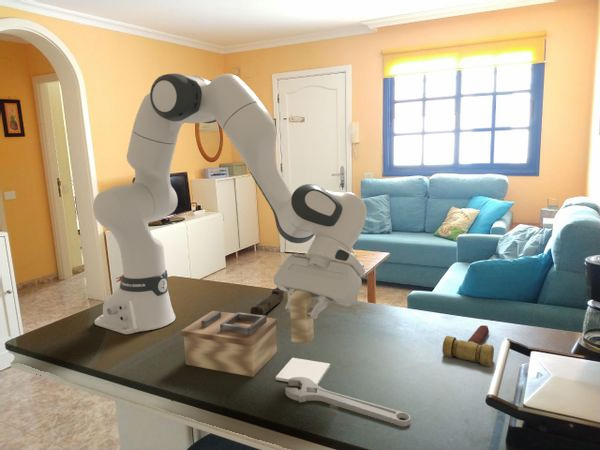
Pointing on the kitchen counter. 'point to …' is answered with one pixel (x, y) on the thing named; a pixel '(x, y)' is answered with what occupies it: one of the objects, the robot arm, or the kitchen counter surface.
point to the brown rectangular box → (231, 342)
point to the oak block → (301, 317)
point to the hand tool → (268, 302)
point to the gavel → (470, 347)
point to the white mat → (303, 370)
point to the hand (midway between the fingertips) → (299, 314)
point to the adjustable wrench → (342, 401)
